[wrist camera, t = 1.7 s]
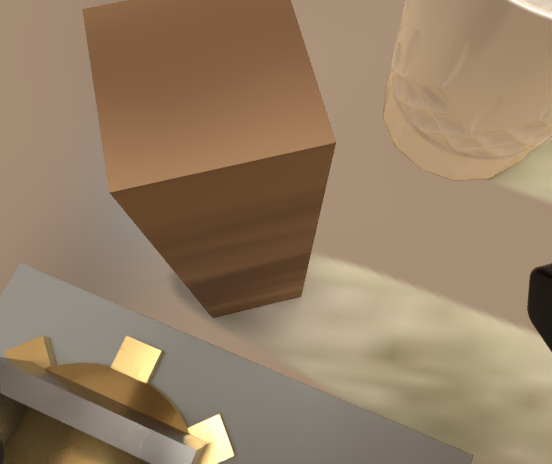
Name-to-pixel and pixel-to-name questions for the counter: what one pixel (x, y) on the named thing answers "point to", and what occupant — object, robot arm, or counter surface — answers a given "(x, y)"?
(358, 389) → the counter surface
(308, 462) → the board
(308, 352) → the counter surface
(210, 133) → the peg
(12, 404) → the gears
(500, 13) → the white cup
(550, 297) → the robot arm
